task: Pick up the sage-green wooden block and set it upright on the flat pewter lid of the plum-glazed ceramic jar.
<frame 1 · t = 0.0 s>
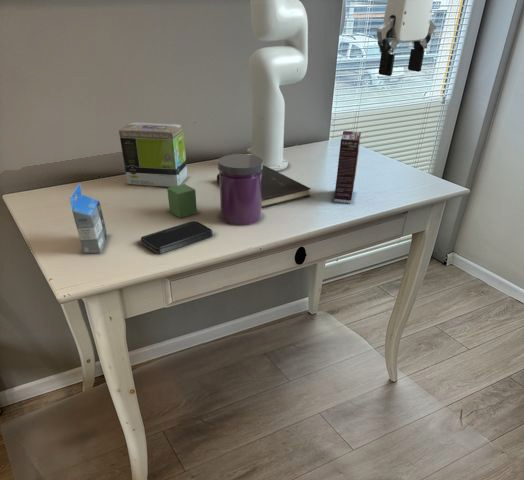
hand: (399, 72, 107), 31 cm above the table, tool pointing down, fingers open, 9 cm apart
phone: (177, 239, 112), on the table
tea box: (158, 181, 142), on the table
label tape box: (95, 245, 110), on the table
jar: (241, 216, 122), on the table
hardcover book: (262, 189, 138), on the table
green block: (183, 212, 124), on the table
supplement box: (343, 198, 134), on the table
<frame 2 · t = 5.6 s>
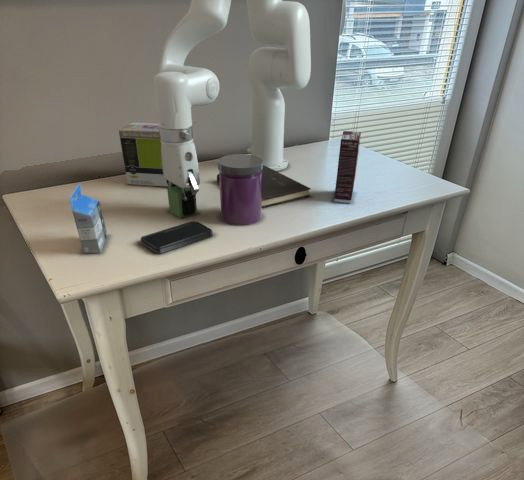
hand: (183, 209, 124), 1 cm above the table, tool pointing down, fingers closed on green block, 5 cm apart
green block: (183, 212, 124), on the table, touching gripper
everything else where it was.
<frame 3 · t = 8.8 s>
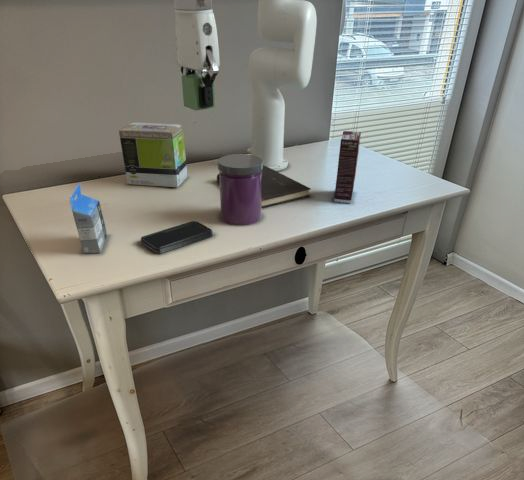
hand: (199, 103, 108), 25 cm above the table, tool pointing down, fingers closed on green block, 5 cm apart
green block: (199, 106, 108), point 25 cm above the table, touching gripper
everything else where it was.
when the fingers open (14 cm above the table, at t = 12.5 s): green block stays where it is, resting on jar.
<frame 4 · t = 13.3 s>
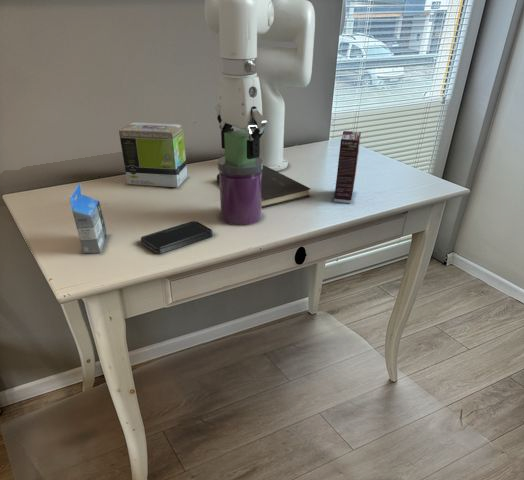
hand: (240, 152, 113), 15 cm above the table, tool pointing down, fingers open, 9 cm apart
green block: (240, 160, 114), point 14 cm above the table, touching jar
everything else where it was.
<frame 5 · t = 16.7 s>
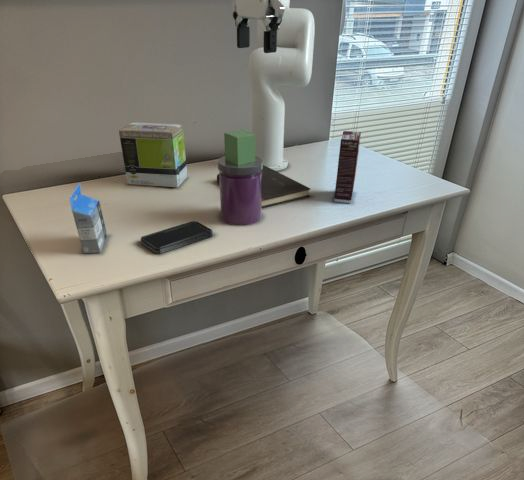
hand: (256, 50, 111), 34 cm above the table, tool pointing down, fingers open, 9 cm apart
nothing on the table moved.
at the end: green block 0.1 cm off-centre on the jar, point 13.6 cm above the jar's base; green block tilted 0°; the gripper is holding nothing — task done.
